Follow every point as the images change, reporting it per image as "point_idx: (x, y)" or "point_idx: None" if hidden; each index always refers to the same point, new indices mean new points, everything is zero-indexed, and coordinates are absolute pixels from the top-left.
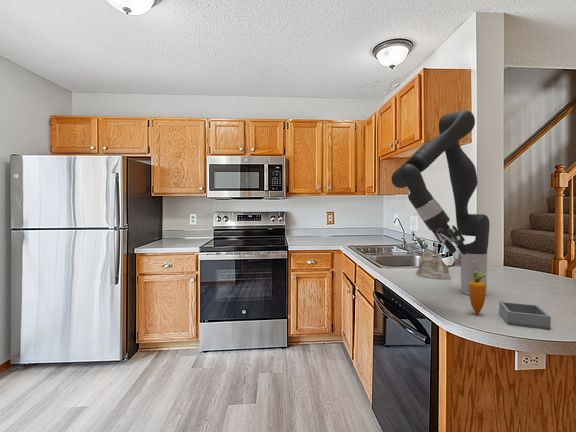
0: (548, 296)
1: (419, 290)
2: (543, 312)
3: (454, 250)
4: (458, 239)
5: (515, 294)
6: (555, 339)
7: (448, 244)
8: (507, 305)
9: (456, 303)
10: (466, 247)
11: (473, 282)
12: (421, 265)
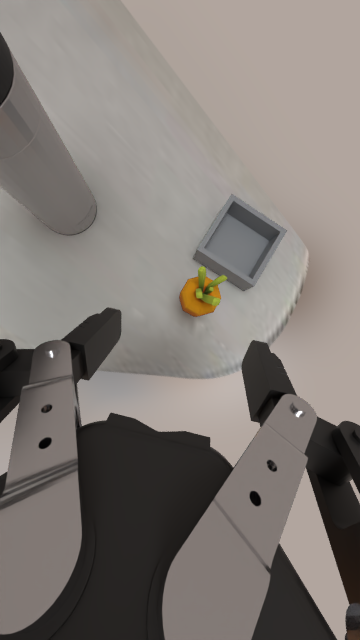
0: (125, 66)
1: (13, 322)
2: (268, 223)
3: (117, 322)
4: (276, 428)
5: (97, 121)
6: (302, 269)
7: (89, 361)
8: (207, 242)
9: (126, 299)
10: (273, 359)
11: (204, 308)
12: None
